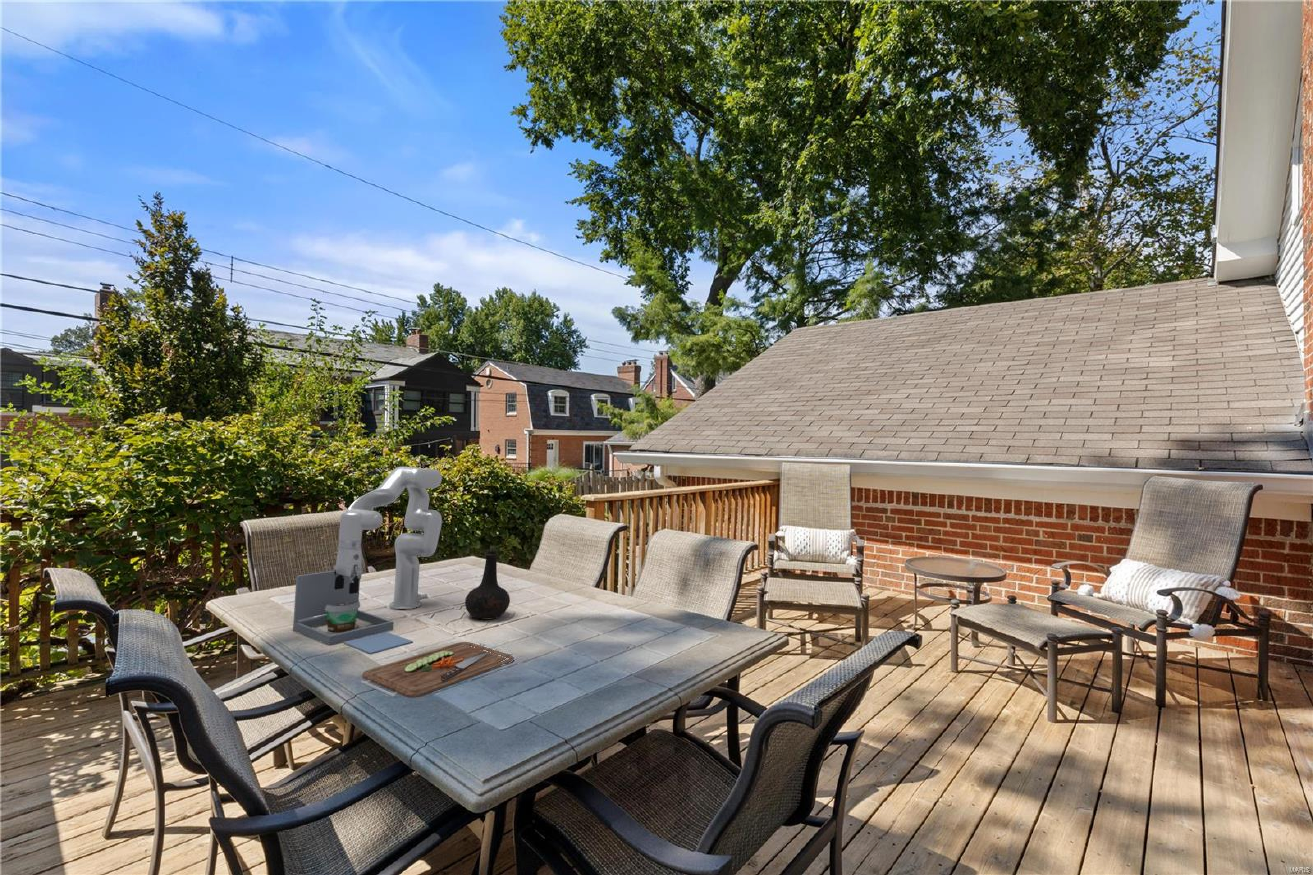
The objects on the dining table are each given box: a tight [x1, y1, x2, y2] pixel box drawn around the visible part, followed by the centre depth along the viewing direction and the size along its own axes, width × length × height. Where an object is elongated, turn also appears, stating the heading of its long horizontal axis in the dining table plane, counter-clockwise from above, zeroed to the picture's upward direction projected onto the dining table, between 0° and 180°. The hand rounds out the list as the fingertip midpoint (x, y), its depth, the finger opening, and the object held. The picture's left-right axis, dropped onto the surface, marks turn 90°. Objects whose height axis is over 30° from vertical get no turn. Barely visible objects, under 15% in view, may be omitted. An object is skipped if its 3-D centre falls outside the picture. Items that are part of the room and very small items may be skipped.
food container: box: [325, 599, 361, 634], centre depth 218 cm, size 12×6×10 cm, turn 143°
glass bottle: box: [464, 548, 511, 619], centre depth 245 cm, size 18×18×28 cm
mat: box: [343, 631, 414, 655], centre depth 206 cm, size 16×16×1 cm
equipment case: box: [292, 570, 395, 646], centre depth 218 cm, size 24×25×20 cm
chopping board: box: [360, 641, 515, 698], centre depth 187 cm, size 45×27×3 cm, turn 148°
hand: (346, 591), depth 218 cm, fingers open, 9 cm apart
